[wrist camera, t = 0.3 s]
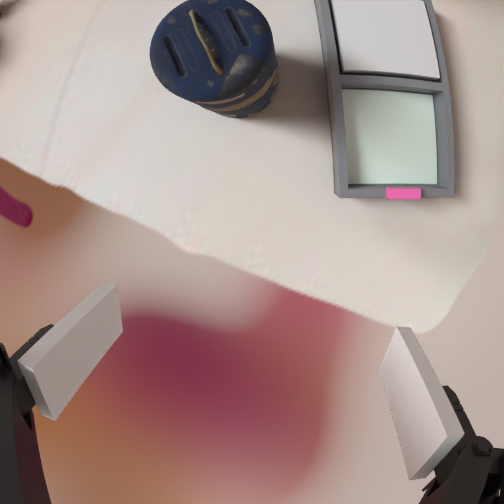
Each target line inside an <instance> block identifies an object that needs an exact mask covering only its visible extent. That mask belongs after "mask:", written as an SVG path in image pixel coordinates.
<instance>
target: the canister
mask: <svg viewBox="0 0 504 504" xmlns="http://www.w3.org/2000/svg"><path fill="white" fill-rule="evenodd" d="M150 61H151V65H152V68H153V71H154V73H155V75H156V77H157V78H158V80H159V81H160V82H161V84H162V85H163V86H164V87H165V88H166V89H168V90H169V91H170V92H172V93H173V94H175V95H177V96H179V97H181V98H184V99H186V100H188V101H191V102H193V103H195V104H198V105H200V106H201V107H203V108H205V109H207V110H210V111H213V112H215V113H217V114H220V115H222V116H226V117H231V118H243V117H248V116H251V115H254V114H256V113H258V112H260V111H261V110H263V109H264V108H265V107H266V106H267V105H268V104H269V103H270V102H271V100H272V99H273V97H274V95H275V93H276V90H277V86H278V66H277V60H276V56H275V50H274V43H273V37H272V32H271V29H270V26H269V24H268V22H267V20H266V18H265V17H264V15H263V14H262V13H261V12H260V11H259V10H258V9H257V8H256V7H255V6H253V5H252V4H251V3H249V2H247V1H245V0H188V1H185V2H184V3H182V4H180V5H179V6H177V7H176V8H174V9H173V10H172V11H171V12H169V13H168V14H167V15H166V16H165V17H164V19H163V20H162V21H161V22H160V24H159V25H158V27H157V29H156V31H155V33H154V35H153V38H152V41H151V46H150Z"/></svg>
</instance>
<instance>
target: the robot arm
mask: <svg viewBox="0 0 504 504" xmlns="http://www.w3.org/2000/svg"><path fill="white" fill-rule="evenodd" d="M122 332H123V330H122V321H121V312H120V301H119V289H118V284H116V283H111V282H106V281H104V282H103V283H102V284H101V285H100V286H98V287H97V288H96V289H95V290H94V291H93V292H92V293H90V294H89V295H88V296H87V297H86V298H85V299H84V300H83V301H81V302H80V303H79V304H78V305H77V306H76V307H74V309H72V310H71V311H70V312H69V313H68V314H67V315H66V316H64V317H63V318H62V319H61V320H60V321H59V322H58V323H57V324H56V325H52V324H50V325H48V326H46V327H44V328H42V329H40V330H39V331H38V332H37V333H36V334H35V335H34V337H32V338H30V339H29V340H28V342H26V343H25V344H24V345H23V346H22V347H21V348H20V349H19V350H18V351H16V353H14V354H13V355H12V356H11V357H10V358H9V357H8V355H7V352H6V349H5V346H4V345H3V344H2V343H0V504H51V501H50V497H49V493H48V489H47V486H46V481H45V477H44V473H43V469H42V464H41V459H40V453H39V448H38V442H37V436H36V429H35V422H34V414H33V411H32V408H33V406H34V405H35V404H36V406H37V408H38V410H39V412H40V413H41V414H42V415H44V416H46V417H48V418H50V419H52V420H54V421H55V420H56V419H57V417H58V416H59V415H60V413H61V412H62V410H63V409H64V408H65V406H66V405H67V403H68V402H69V401H70V399H71V398H72V397H73V395H74V394H75V393H76V391H77V390H78V389H79V387H80V386H81V385H82V383H83V382H84V381H85V379H86V378H87V377H88V375H89V374H90V373H91V371H92V370H93V369H94V367H95V366H96V365H97V364H98V362H99V361H100V360H101V358H102V357H103V356H104V355H105V353H106V352H107V351H108V349H109V348H110V347H111V346H112V344H113V343H114V342H115V341H116V339H117V338H118V337H119V335H120V334H121V333H122ZM378 373H379V376H380V379H381V382H382V385H383V388H384V392H385V395H386V398H387V401H388V405H389V408H390V411H391V415H392V418H393V422H394V425H395V428H396V432H397V435H398V439H399V443H400V447H401V450H402V454H403V458H404V462H405V466H406V470H407V474H408V478H409V480H415V479H421V478H426V477H427V476H428V475H429V474H430V473H431V472H432V471H433V470H434V471H435V475H436V477H435V478H434V479H432V480H431V482H429V483H428V484H427V485H426V486H425V487H424V488H423V490H422V491H425V490H426V489H427V488H428V489H427V490H426V492H425V494H424V496H423V497H422V499H421V501H420V503H419V504H504V449H500V448H493V446H492V444H491V443H490V442H489V441H488V440H487V439H486V438H484V437H481V436H476V434H475V432H474V430H473V428H472V426H471V424H470V421H469V419H468V417H467V415H466V413H465V412H464V411H463V407H462V405H461V404H460V401H459V399H458V398H457V395H456V394H455V393H454V392H453V391H452V390H451V389H450V388H449V387H448V386H442V385H441V383H440V381H439V379H438V377H437V375H436V373H435V371H434V369H433V368H432V366H431V364H430V362H429V360H428V358H427V356H426V355H425V353H424V351H423V349H422V347H421V345H420V344H419V342H418V340H417V338H416V337H415V335H414V333H413V331H412V330H411V328H409V327H396V329H395V332H394V334H393V337H392V340H391V342H390V344H389V347H388V350H387V352H386V354H385V356H384V359H383V361H382V364H381V366H380V368H379V370H378ZM499 490H500V496H499Z"/></svg>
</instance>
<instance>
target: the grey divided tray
mask: <svg viewBox="0 0 504 504" xmlns="http://www.w3.org/2000/svg"><path fill="white" fill-rule="evenodd" d="M314 2H315V7H316V13H317V19H318V25H319V31H320V38H321V45H322V52H323V59H324V67H325V75H326V84H327V93H328V103H329V114H330V126H331V139H332V153H333V171H334V193H335V194H336V195H337V196H338V197H339V198H358V197H386V198H387V199H389V200H395V199H421V197H454V191H455V154H454V131H453V117H452V106H451V97H450V89H449V82H448V75H447V69H446V63H445V57H444V52H443V47H442V42H441V37H440V33H439V28H438V24H437V20H436V16H435V13H434V9H433V5H432V2H431V0H314Z"/></svg>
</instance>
